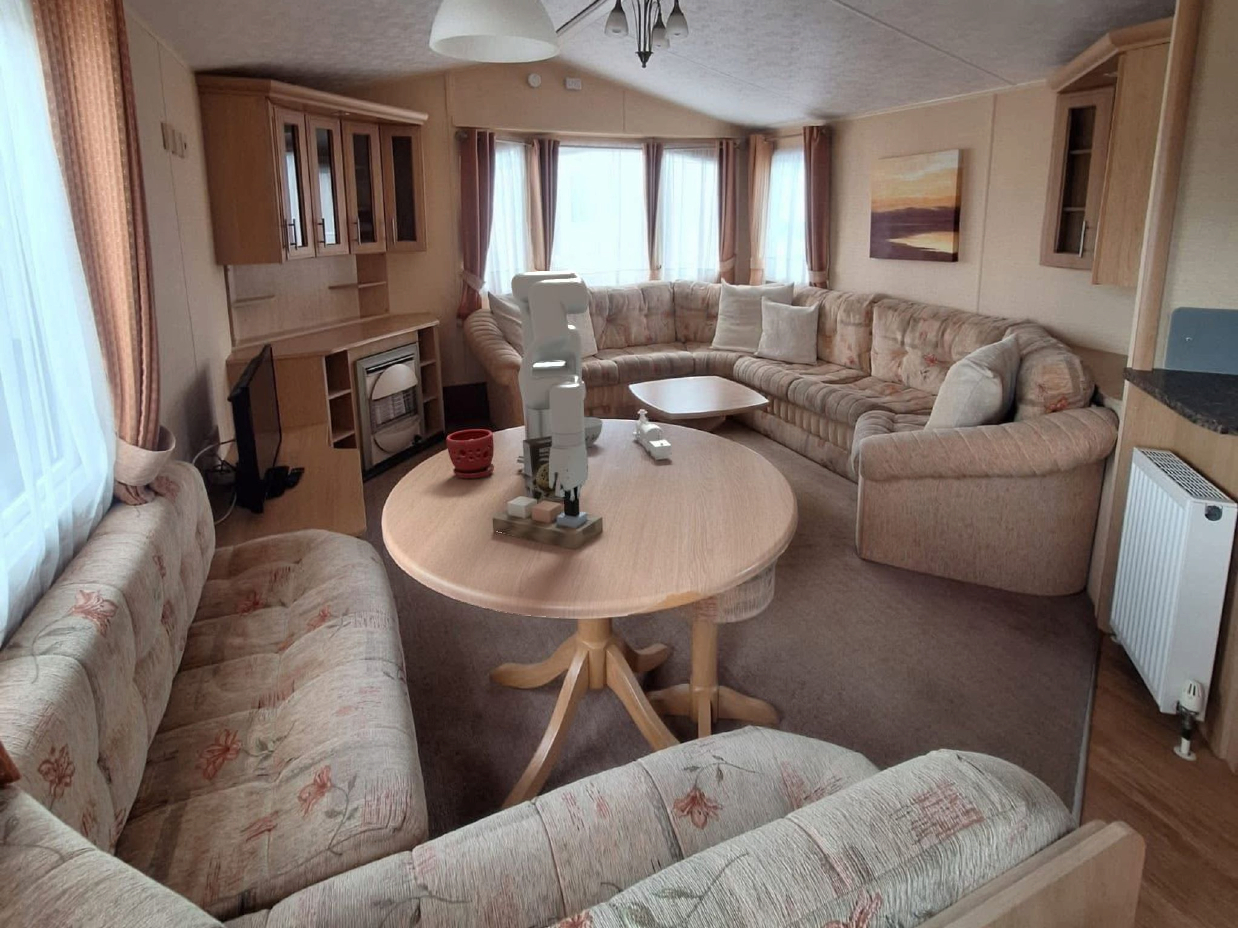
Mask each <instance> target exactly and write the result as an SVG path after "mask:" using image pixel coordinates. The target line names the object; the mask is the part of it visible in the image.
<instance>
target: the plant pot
mask: <svg viewBox="0 0 1238 928" xmlns="http://www.w3.org/2000/svg"><path fill="white" fill-rule="evenodd" d="M445 440H446V447H447V451H448V455H449V458H450V461H451V463H452V465H453V466H454V468H453V471H452V472H453V474H454V475H455V476H456V477H458V478H461V477H462V479H463V478H465V479H469V478H471V479H478V478H479V477H480V478H483V477H487V476H489V475H491V474H492V473H493V471H494V469H495V465H494V464H493V463H492V461H493V458H494V452H495V451H494V448H495V446H494V435H493V432H492V431H491V430H489V429H484V428H483V429H482V428H481V429H480V428H479V429H476V428H475V429H474V428H473V429H465V430H460V431H455V432H453V433H450V434H448V435H447V437H446V439H445Z"/></svg>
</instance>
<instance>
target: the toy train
mask: <svg viewBox="0 0 1238 928" xmlns="http://www.w3.org/2000/svg"><path fill="white" fill-rule="evenodd" d="M637 414H639V415H640V416H639V419H638V420H636V421H637V422H636V423H635V428H636V431H633V432H632V436H633V440H634V441H638V442H639V444H641V445H642V447H643V448H644V449H645V450H646V451H647V452H648V453H650V456H652V458H654V459H655V461H658V460H669V459H670V456H669V455H672V444H671V443H669V442H668V440H667V439H663V433H665V431H664V430H663V429H662V428H661V427H660V426H658V425H657V424H654V423H653V422H652V421H651V422H649V420H648V418H647V417H646V415H645V414H648V411H646V409H643V408H641V409H639V411H638V412H637Z"/></svg>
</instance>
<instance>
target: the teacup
mask: <svg viewBox="0 0 1238 928" xmlns="http://www.w3.org/2000/svg"><path fill="white" fill-rule="evenodd" d="M603 424H604V421H603V420H602V419H600V418H598V417H592V416H590V417H586V416H584V426H585V445H586V448H590V447H592V446H593V445H594V443H596V442H597V441H598V439H599V438H600V436H601V432H602V430H603Z"/></svg>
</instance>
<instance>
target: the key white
mask: <svg viewBox="0 0 1238 928" xmlns="http://www.w3.org/2000/svg"><path fill="white" fill-rule="evenodd" d="M535 505H537V499H533V498H527V497H526V496H520V495H519V496H518V497H516V498H514V499H512V500H510V501H508V502H507V504H506V506H507V510H508V515H512V516H517V517H522V518H527V517H529V516H530V515H532V508H531V507H533V506H535Z"/></svg>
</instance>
